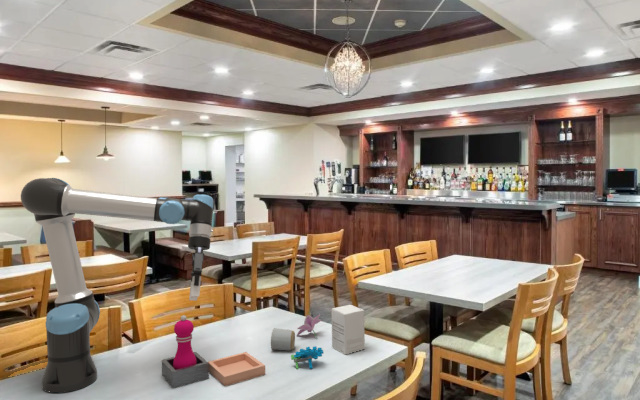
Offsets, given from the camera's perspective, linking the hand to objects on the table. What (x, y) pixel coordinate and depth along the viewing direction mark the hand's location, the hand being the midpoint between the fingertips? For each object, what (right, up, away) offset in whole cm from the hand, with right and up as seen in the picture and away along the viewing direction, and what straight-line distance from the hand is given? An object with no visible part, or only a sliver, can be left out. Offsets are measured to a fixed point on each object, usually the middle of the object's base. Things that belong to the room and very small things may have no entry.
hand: (194, 298), depth 154 cm
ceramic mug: (+29, -22, +14) cm, 39 cm away
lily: (+39, -21, +26) cm, 51 cm away
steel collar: (0, -23, -9) cm, 25 cm away
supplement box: (+53, -22, +13) cm, 59 cm away
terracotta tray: (+16, -23, -6) cm, 28 cm away
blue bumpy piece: (+39, -23, -1) cm, 45 cm away
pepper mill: (0, -23, -9) cm, 25 cm away
